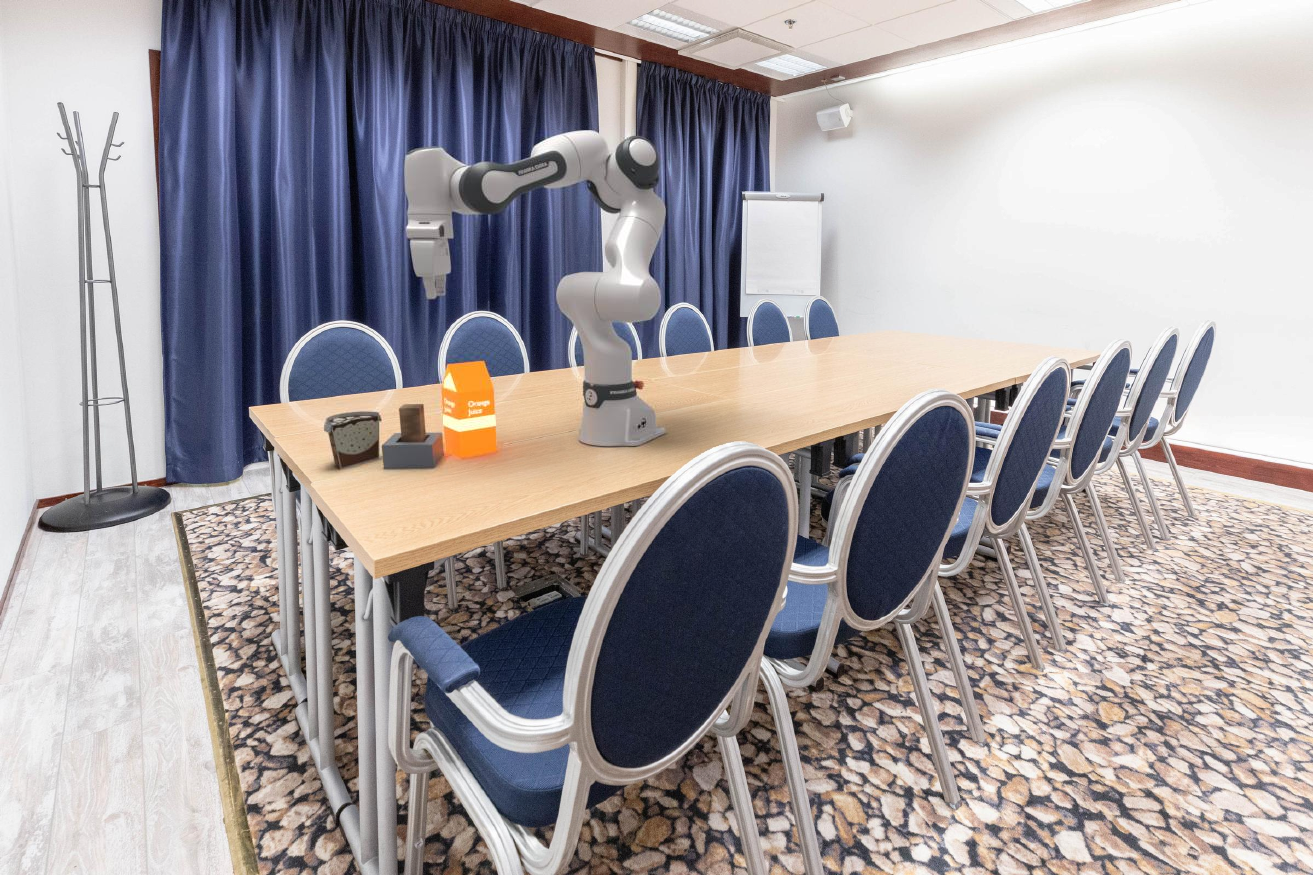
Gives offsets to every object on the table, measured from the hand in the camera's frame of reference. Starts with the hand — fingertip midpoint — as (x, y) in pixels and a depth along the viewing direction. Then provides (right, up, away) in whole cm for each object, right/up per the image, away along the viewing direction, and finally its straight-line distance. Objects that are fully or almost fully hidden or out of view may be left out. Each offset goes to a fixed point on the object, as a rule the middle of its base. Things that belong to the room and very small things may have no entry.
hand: (436, 297), depth 148 cm
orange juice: (+6, -33, +6) cm, 35 cm away
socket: (-4, -35, -2) cm, 35 cm away
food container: (-17, -35, -2) cm, 39 cm away
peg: (-4, -35, -1) cm, 35 cm away
